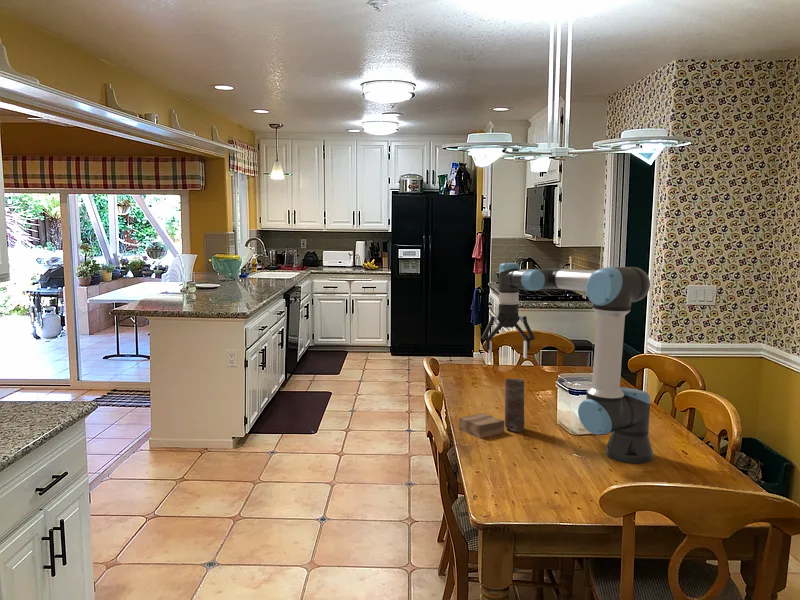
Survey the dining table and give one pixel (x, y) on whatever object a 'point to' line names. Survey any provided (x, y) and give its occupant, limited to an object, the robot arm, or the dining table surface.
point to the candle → (514, 404)
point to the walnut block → (481, 425)
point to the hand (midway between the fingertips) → (507, 358)
